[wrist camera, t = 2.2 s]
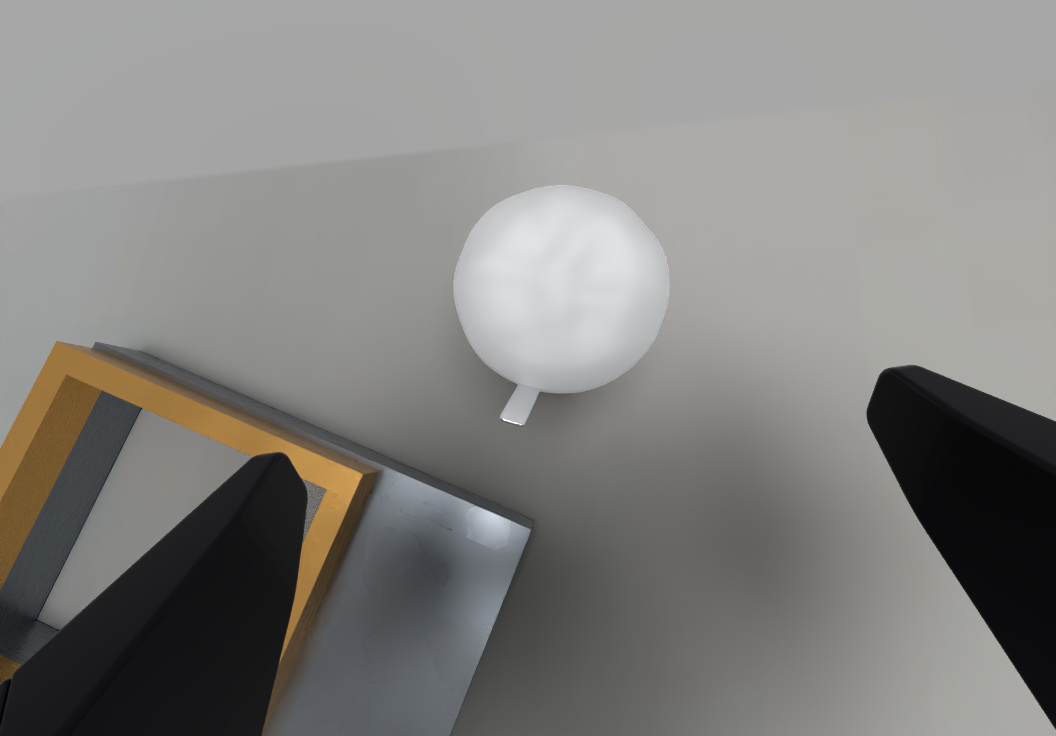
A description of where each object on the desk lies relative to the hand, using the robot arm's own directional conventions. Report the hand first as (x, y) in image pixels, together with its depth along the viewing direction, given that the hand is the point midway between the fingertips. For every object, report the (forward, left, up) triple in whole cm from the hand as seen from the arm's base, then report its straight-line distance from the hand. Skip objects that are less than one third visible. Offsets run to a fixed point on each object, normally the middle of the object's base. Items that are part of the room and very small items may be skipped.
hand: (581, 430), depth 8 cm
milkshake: (+2, +1, -11) cm, 11 cm away
